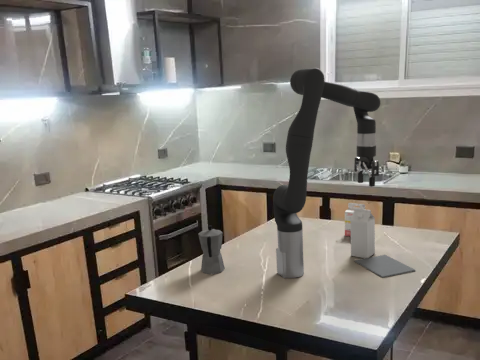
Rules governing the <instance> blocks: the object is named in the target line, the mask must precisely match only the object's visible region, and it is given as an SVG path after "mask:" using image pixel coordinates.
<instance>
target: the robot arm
mask: <svg viewBox="0 0 480 360" xmlns="http://www.w3.org/2000/svg"><path fill="white" fill-rule="evenodd" d="M289 83H290V87H291V90H292V91H293V92H294V93H296V94H297V95H301V96H302V100H301V105H300V108H299V110H298V112H297V114H296V116H295V117H294V119H293V120H292V122H291V124H290V126H289V127H288V131H287V136H286V142H285V153H286V154H285V155H286V158H287V164H288V167H289V179H288V184H282V185H279V186H277V187H276V189H275V190H274V192H273V196H272V201H273V202H272V206H273V217H274V222H275V224H276V231H277V232H276V233H277V234H276V235H277V248H275V253H276V257H275V258H276V273H277V274H278V275H279V276H281V278H282V279H294V278H300V277H302V276H304V274H305V264H304V263H305V261H304V238H303V237H304V236H303V235H304V234H303V231H304V230H303V221H302V220H301V218H300V217H299V216H298V215H297V214H298V213H300V212H302V210H303V209H304V208H305V205H306V200H307V189H308V176H309V167H310V162H311V161H310V159H311V155H312V154H311V152H312V148H313V142H314V135H315V127H316V122H317V119H318V118H317V117H318V113H319V107H320V103H321V100H322V99H325V100H328V101H331V102H334V103H338V104H339V105H342V106H346V107H349V108H350V107H351V108H353V111H354V117H355V120H356V122H357V123H356V126H357V128H356V130H357V131H356V157H354V163H353V164H354V167H353V171H354V172H355V173H356V174H357V183H358V184H362V183H364V173H365V172H366V173H367V175H368V187H371V188H372V187H375V186H376V178H377V177H379V176H380V170H379V169H380V166H379V160H374V157H376V156H377V134H376V130H377V129H376V126H377V123H376V120H375V118H372V117H371V116H370V115H369V113H371V112H375V111H377V110H378V109H380V106H381V99H380V97H379V96H378V94H376V93H374V92H369V91H365V90H360V89H357V88H355V87H352V86H349V85H346V84H342V83H338V82H337V83H336V82H329V81H326V80H325V74H324V72H323V71H322V69H320V68H318V67H309V68H300V69H298V70H295V71H294V72H293V73H292V74H291V77H290V80H289ZM368 112H369V113H368Z"/></svg>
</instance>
